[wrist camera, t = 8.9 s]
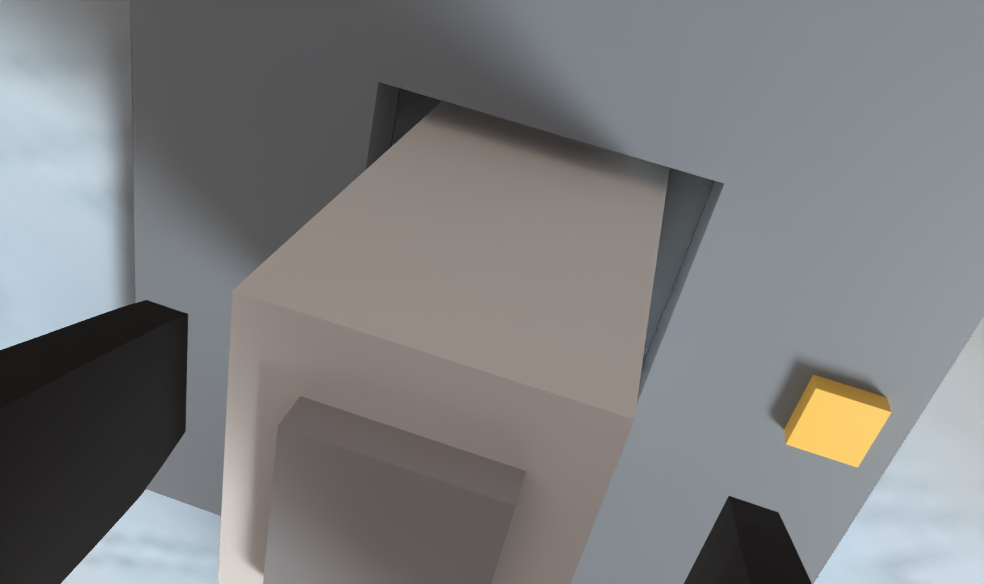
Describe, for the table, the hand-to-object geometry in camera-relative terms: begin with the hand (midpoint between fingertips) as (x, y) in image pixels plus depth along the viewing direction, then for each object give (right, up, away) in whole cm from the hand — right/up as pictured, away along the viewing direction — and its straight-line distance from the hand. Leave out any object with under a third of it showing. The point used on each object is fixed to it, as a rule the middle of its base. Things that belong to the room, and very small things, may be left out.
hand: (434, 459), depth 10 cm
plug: (+1, +3, +4) cm, 5 cm away
